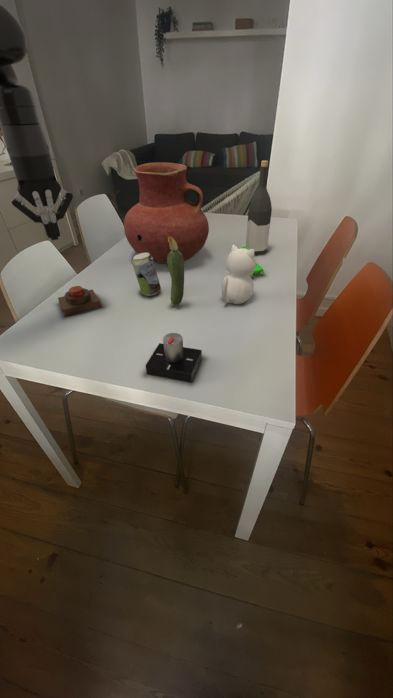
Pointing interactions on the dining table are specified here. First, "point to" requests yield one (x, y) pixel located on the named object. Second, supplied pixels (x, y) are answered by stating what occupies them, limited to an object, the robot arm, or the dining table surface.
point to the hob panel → (174, 364)
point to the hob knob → (173, 347)
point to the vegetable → (176, 272)
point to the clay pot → (165, 213)
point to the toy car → (258, 268)
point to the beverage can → (146, 274)
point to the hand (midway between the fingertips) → (54, 238)
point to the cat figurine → (239, 276)
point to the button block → (79, 302)
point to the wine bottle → (259, 215)
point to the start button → (76, 291)
